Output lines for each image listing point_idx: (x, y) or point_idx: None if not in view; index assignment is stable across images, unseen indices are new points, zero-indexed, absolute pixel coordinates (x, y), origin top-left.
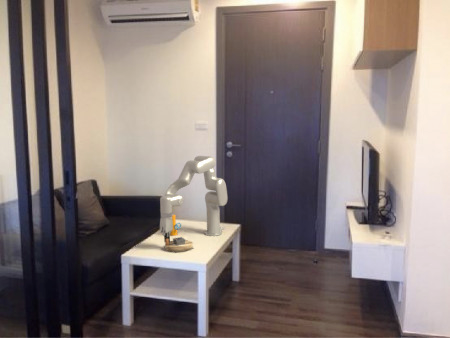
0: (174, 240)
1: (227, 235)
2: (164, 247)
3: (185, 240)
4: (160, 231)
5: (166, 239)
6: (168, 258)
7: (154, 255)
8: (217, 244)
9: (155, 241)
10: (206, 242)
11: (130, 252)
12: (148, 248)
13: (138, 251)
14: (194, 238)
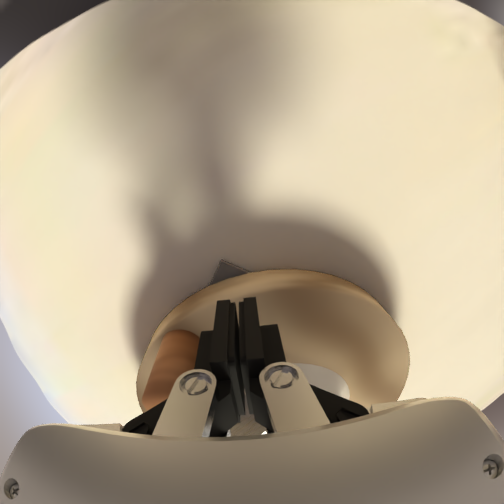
0: (242, 434)
1: (498, 394)
2: (220, 263)
3: (393, 395)
4: (23, 454)
5: (146, 408)
6: (63, 396)
7: (26, 297)
8: None
9: (389, 35)
10: None
11: (3, 71)
12: (123, 99)
13: (27, 97)
14: (497, 319)
